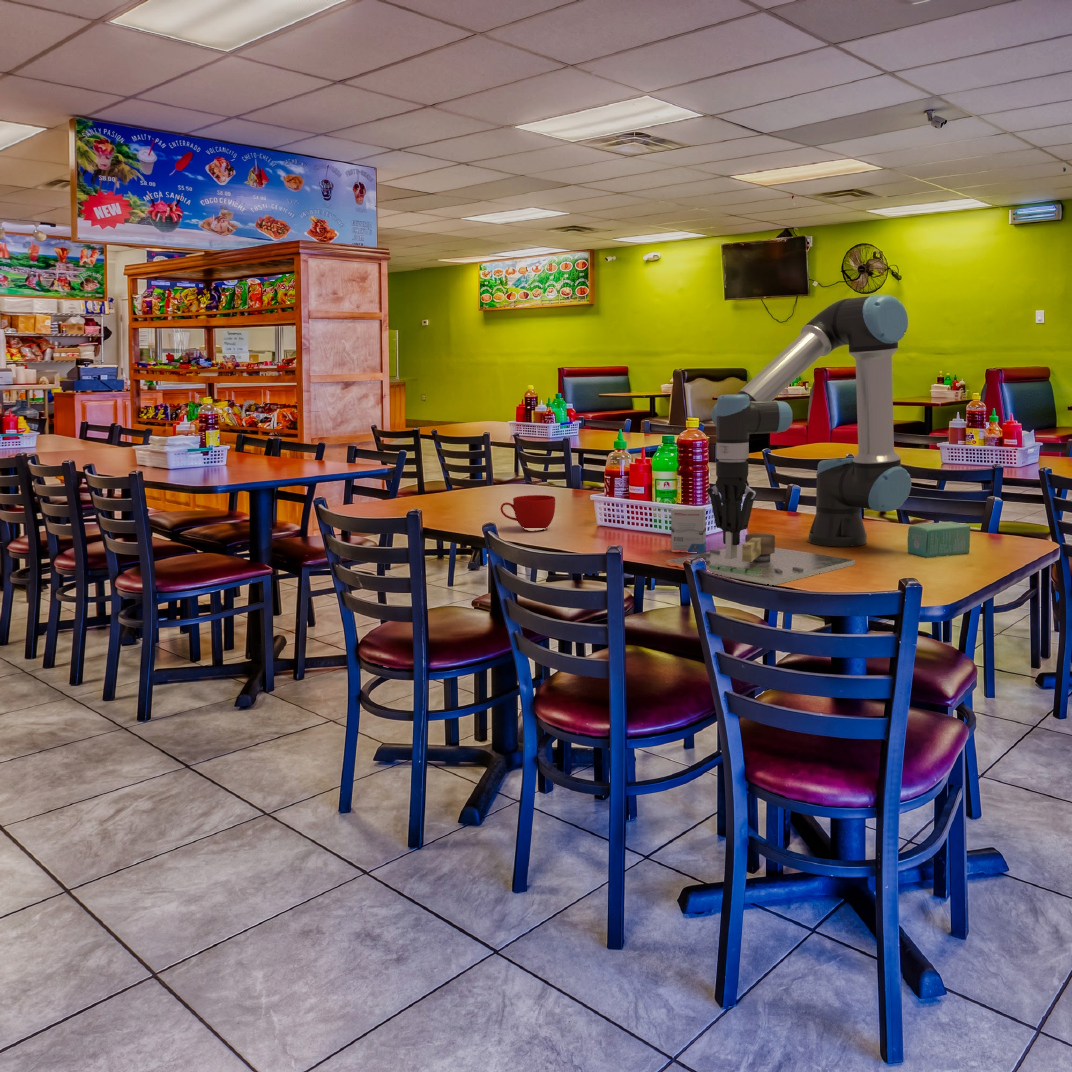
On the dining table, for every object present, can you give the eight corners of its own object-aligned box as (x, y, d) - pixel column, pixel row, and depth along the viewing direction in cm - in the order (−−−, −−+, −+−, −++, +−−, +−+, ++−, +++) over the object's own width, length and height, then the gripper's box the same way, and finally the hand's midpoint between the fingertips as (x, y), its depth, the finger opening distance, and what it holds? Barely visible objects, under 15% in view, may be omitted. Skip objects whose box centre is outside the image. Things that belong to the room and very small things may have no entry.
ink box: (706, 550, 252) (706, 507, 250) (703, 554, 247) (703, 509, 245) (674, 549, 255) (674, 506, 253) (670, 552, 250) (670, 508, 248)
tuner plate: (748, 547, 254) (748, 536, 254) (854, 564, 230) (855, 552, 229) (666, 565, 234) (666, 553, 234) (772, 585, 210) (773, 572, 209)
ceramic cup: (499, 528, 296) (498, 496, 295) (553, 525, 298) (552, 494, 296) (502, 535, 284) (501, 502, 282) (558, 532, 286) (557, 499, 284)
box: (905, 553, 243) (907, 524, 241) (948, 549, 247) (950, 520, 245) (925, 558, 236) (927, 528, 234) (969, 554, 240) (971, 525, 239)
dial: (749, 548, 236) (749, 532, 235) (777, 550, 233) (777, 534, 232) (729, 562, 220) (729, 545, 219) (759, 564, 216) (759, 547, 216)
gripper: (700, 460, 226) (699, 557, 230) (747, 463, 217) (745, 563, 221) (718, 457, 231) (717, 552, 235) (764, 460, 222) (763, 558, 226)
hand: (731, 557), depth 228 cm, fingers closed
